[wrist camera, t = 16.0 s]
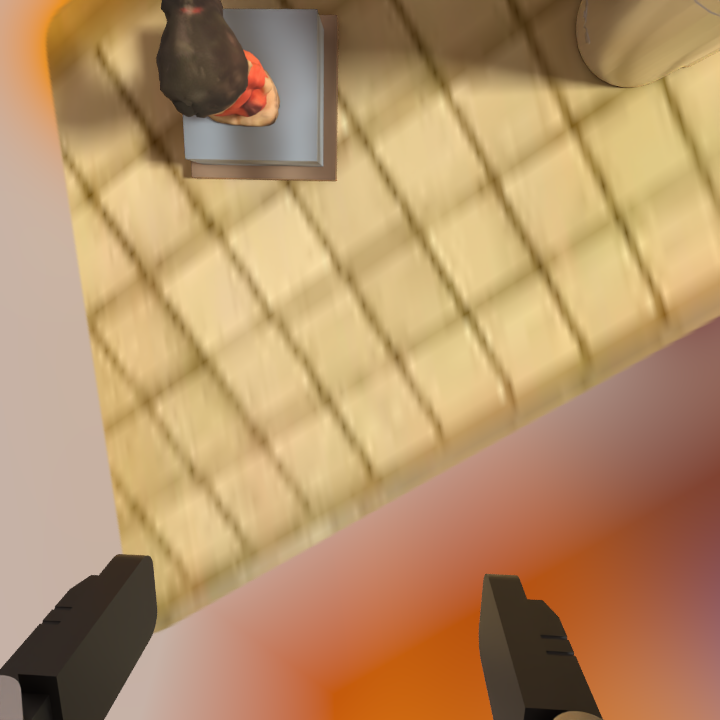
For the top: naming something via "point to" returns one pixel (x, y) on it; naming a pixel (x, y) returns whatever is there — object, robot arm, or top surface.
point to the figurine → (212, 68)
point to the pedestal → (297, 103)
